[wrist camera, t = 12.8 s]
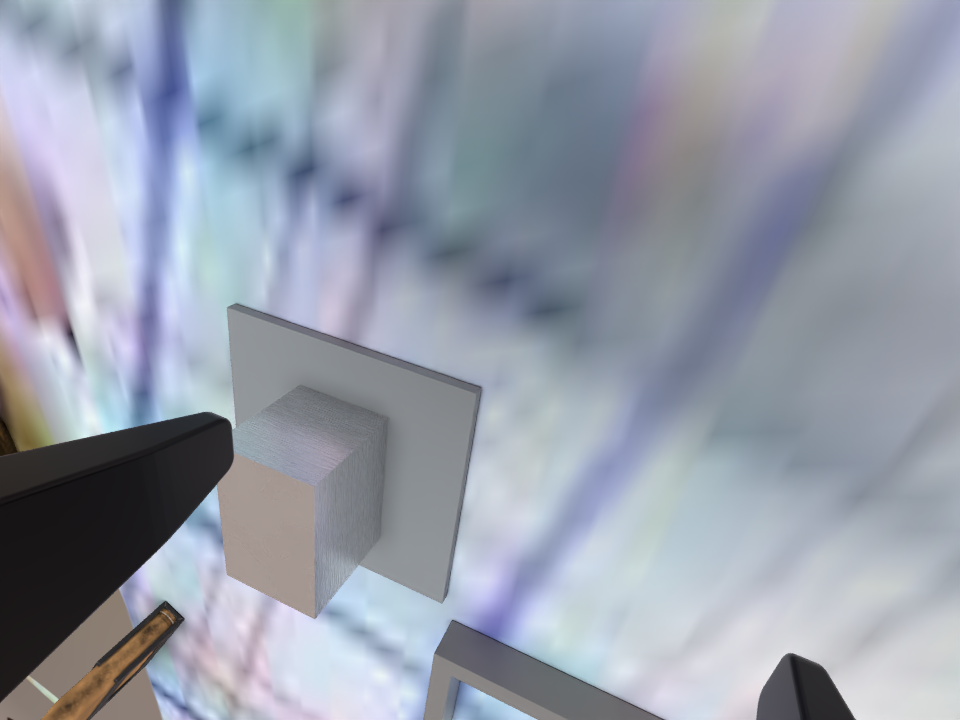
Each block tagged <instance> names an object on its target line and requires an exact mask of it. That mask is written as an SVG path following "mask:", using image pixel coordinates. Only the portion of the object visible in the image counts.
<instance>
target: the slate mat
mask: <svg viewBox="0 0 960 720" xmlns="http://www.w3.org/2000/svg"><path fill="white" fill-rule="evenodd" d="M227 316H228V329H229V342H230V354H231V367H232V380H233V393H234V405H235V418H236V427H238V426H239V425H241V424H242V423H244V422H245V421H247V420H248V419H250V418H251V417H253V416H254V415H255V414H257V413H258V412H260V411H261V410H263V409H264V408H266V407H267V406H269V405H270V404H272V403H273V402H275V401H276V400H278V399H279V398H281V397H282V396H284V395H285V394H287V393H288V392H290V391H291V390H293V389H294V388H296V387H297V386H299V385H303V386H305V387H308V388H311V389H313V390H316V391H319V392H321V393H324V394H327V395H330V396H332V397H335V398H338V399H340V400H343V401H346V402H348V403H351V404H354V405H357V406H359V407H362V408H365V409H367V410H370V411H373V412H375V413H378V414H381V415H384V416H386V417H389V422H388V436H387V450H386V464H385V478H384V492H383V506H382V520H381V534H380V539H379V540H378V541H377V543H376V544H375V545H374V546H373V548H372V549H371V550H370V551H369V553H368V554H367V555H366V556H365V557H364V559H363V560H362V561H361V562H360V564H359V565H361V566H363V567H365V568H367V569H369V570H371V571H373V572H376V573H378V574H380V575H382V576H384V577H386V578H388V579H391V580H393V581H395V582H397V583H399V584H401V585H403V586H406V587H408V588H410V589H412V590H414V591H416V592H418V593H421V594H423V595H425V596H427V597H429V598H431V599H433V600H436V601H438V602H440V603H443V601H444V600H445V598H446V596H447V591H448V585H449V579H450V573H451V567H452V561H453V555H454V549H455V543H456V537H457V531H458V525H459V519H460V513H461V507H462V501H463V495H464V489H465V483H466V477H467V471H468V465H469V459H470V453H471V447H472V441H473V435H474V429H475V423H476V417H477V411H478V405H479V399H480V393H481V388H480V387H477V386H474V385H471V384H468V383H465V382H462V381H459V380H456V379H453V378H450V377H447V376H445V375H442V374H439V373H436V372H433V371H430V370H427V369H424V368H421V367H418V366H415V365H412V364H410V363H407V362H404V361H401V360H398V359H395V358H392V357H389V356H386V355H383V354H380V353H377V352H374V351H372V350H369V349H366V348H363V347H360V346H357V345H354V344H351V343H348V342H345V341H342V340H339V339H337V338H334V337H331V336H328V335H325V334H322V333H319V332H316V331H313V330H310V329H307V328H304V327H301V326H299V325H296V324H293V323H290V322H287V321H284V320H281V319H278V318H275V317H272V316H269V315H266V314H264V313H261V312H258V311H255V310H252V309H249V308H246V307H243V306H240V305H237V304H234V305H231V306H229V307H227Z"/></svg>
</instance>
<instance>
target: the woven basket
mask: <svg viewBox="0 0 960 720" xmlns="http://www.w3.org/2000/svg"><path fill="white" fill-rule="evenodd" d="M13 453H17V451H16V448H15V446H14V443H13V441H12V439H11V436H10V434H9V432H8V430H7V429H6V427H5V425H4V423H3V421H2V420H1V418H0V456H4V455H9V454H13Z"/></svg>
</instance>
